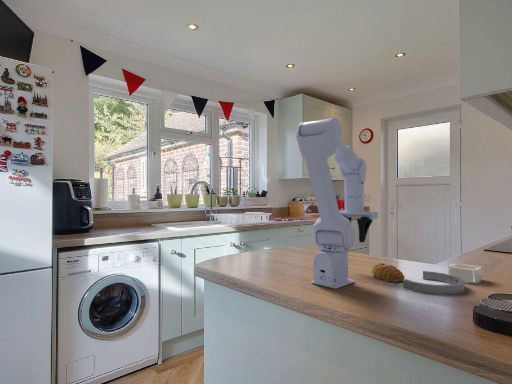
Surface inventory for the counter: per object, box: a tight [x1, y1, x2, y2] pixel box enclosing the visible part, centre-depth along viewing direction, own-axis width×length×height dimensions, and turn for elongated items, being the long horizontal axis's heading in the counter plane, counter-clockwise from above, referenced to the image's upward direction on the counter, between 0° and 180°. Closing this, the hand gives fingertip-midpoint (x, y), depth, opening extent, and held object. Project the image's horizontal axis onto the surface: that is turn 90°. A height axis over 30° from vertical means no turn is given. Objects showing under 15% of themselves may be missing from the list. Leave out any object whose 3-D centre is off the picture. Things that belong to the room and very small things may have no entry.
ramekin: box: [448, 263, 483, 284], centre depth 90 cm, size 7×7×4 cm
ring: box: [402, 270, 465, 296], centre depth 83 cm, size 15×12×2 cm
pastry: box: [371, 262, 406, 283], centre depth 92 cm, size 9×7×4 cm
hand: (354, 241), depth 100 cm, fingers open, 5 cm apart
